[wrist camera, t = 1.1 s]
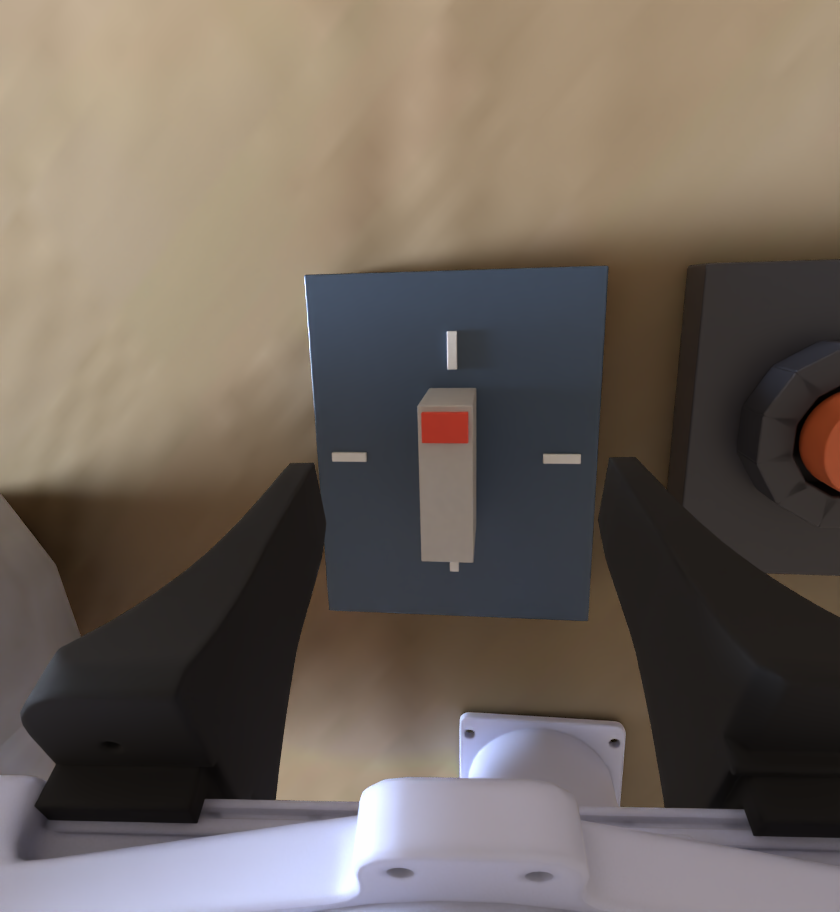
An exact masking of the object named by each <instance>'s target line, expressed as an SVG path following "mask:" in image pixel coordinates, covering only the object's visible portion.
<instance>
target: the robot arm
mask: <svg viewBox="0 0 840 912" xmlns="http://www.w3.org/2000/svg"><path fill="white" fill-rule="evenodd" d="M598 522H599V527H600V533H601V539H602V544H603V549H604V554H605V558H606V561H607V565H608V568H609V571H610V574H611V577H612V580H613V583H614V586H615V589H616V592H617V595H618V598H619V601H620V604H621V607H622V610H623V613H624V616H625V619H626V622H627V625H628V628H629V631H630V634H631V637H632V641H633V644H634V648H635V652H636V656H637V660H638V665H639V670H640V674H641V679H642V684H643V688H644V693H645V698H646V703H647V708H648V714H649V719H650V724H651V729H652V734H653V740H654V746H655V752H656V757H657V763H658V769H659V774H660V781H661V787H662V794H663V800H664V807H665V808H646V807H620V800H621V787H622V775H623V763H624V751H625V739H626V733H625V729H624V726H623V725H622V724H621V723H619V722H616V721H605V720H589V719H573V718H557V717H541V716H524V715H508V714H492V713H476V712H466V713H464V714H462V716H461V717H460V778H444V777H402V778H393V779H384V780H382V781H380V782H378V783H376V784H374V785H372V786H370V787H368V788H367V789H366V790H364V791H363V793H362V796H361V799H360V802H342V801H291V800H276V792H277V783H278V774H279V765H280V758H281V750H282V742H283V735H284V727H285V720H286V714H287V707H288V700H289V694H290V687H291V681H292V675H293V669H294V663H295V657H296V652H297V647H298V643H299V639H300V634H301V631H302V627H303V624H304V620H305V617H306V613H307V609H308V606H309V602H310V599H311V595H312V592H313V588H314V585H315V581H316V577H317V574H318V570H319V566H320V562H321V559H322V552H323V546H324V539H325V531H326V518H325V513H324V508H323V503H322V499H321V494H320V489H319V484H318V479H317V475H316V470H315V465H314V463H290V464H289V465H288V466H287V467H286V468H285V469H284V470H283V472H282V473H281V474H280V475H279V476H278V477H277V479H276V480H275V481H274V482H273V483H272V485H271V486H270V487H269V488H268V489H267V490H266V492H265V493H264V494H263V495H262V496H261V497H260V499H259V500H258V501H257V502H256V503H255V504H254V505H253V506H252V508H251V509H250V510H249V511H248V512H247V513H246V514H245V515H244V516H243V518H242V519H241V520H240V521H239V522H238V523H237V524H236V525H235V526H234V527H233V528H232V529H231V530H230V531H229V532H228V533H227V534H226V535H225V536H224V537H223V538H222V539H221V540H220V541H219V542H218V543H217V544H216V545H215V546H214V547H213V548H211V549H210V550H209V551H208V552H207V553H206V554H205V555H204V556H203V557H201V558H200V559H199V560H198V561H197V562H195V563H194V564H193V565H192V566H191V567H189V568H188V569H187V570H186V571H184V572H183V573H182V574H180V575H179V576H178V577H176V578H175V579H173V580H172V581H171V582H169V583H168V584H167V585H165V586H164V587H162V588H161V589H160V590H158V591H157V592H156V593H154V594H153V595H151V596H150V597H148V598H147V599H145V600H144V601H142V602H141V603H139V604H138V605H136V606H135V607H133V608H131V609H130V610H128V611H126V612H125V613H123V614H121V615H120V616H118V617H117V618H115V619H113V620H111V621H110V622H108V623H106V624H104V625H103V626H101V627H99V628H97V629H95V630H93V631H91V632H89V633H88V634H86V635H84V636H82V637H80V638H78V639H76V640H74V641H72V642H71V643H69V644H67V645H65V646H63V647H61V648H59V649H58V650H57V652H56V653H55V655H54V656H53V658H52V659H51V661H50V662H49V664H48V665H47V667H46V668H45V670H44V672H43V673H42V675H41V677H40V678H39V680H38V682H37V684H36V685H35V687H34V689H33V690H32V692H31V694H30V695H29V697H28V699H27V700H26V702H25V704H24V705H23V707H22V709H21V711H20V716H21V722H22V724H23V726H24V728H25V729H26V731H27V732H28V734H29V735H30V736H31V737H32V738H33V740H34V741H35V742H36V743H37V744H38V745H39V746H40V747H41V748H42V749H43V751H44V752H45V753H46V754H47V755H48V756H49V757H50V758H51V759H52V760H53V762H54V763H55V764H56V765H55V767H54V769H53V771H52V773H51V775H50V777H49V779H48V781H47V782H46V781H45V780H43V779H40V778H37V777H33V776H24V775H0V912H840V617H838V616H836V615H834V614H832V613H830V612H828V611H827V610H825V609H823V608H821V607H819V606H817V605H816V604H814V603H812V602H811V601H809V600H807V599H805V598H804V597H802V596H800V595H799V594H797V593H795V592H794V591H792V590H791V589H789V588H787V587H786V586H784V585H783V584H781V583H779V582H778V581H776V580H775V579H773V578H772V577H770V576H769V575H767V574H766V573H764V572H763V571H761V570H760V569H758V568H757V567H756V566H754V565H753V564H752V563H750V562H749V561H747V560H746V559H745V558H743V557H742V556H741V555H739V554H738V553H737V552H735V551H734V550H733V549H731V548H730V547H729V546H728V545H726V544H725V543H724V542H723V541H721V540H720V539H719V538H718V537H717V536H715V535H714V534H713V533H712V532H711V531H710V530H708V529H707V528H706V527H705V526H704V525H703V524H702V523H700V522H699V521H698V520H697V519H696V518H695V517H694V516H693V515H692V514H691V513H690V512H689V511H688V510H687V509H686V508H685V507H683V506H682V505H681V504H680V503H679V502H678V501H677V500H676V499H675V498H674V497H673V496H672V495H671V494H670V493H669V492H668V491H667V490H666V489H665V487H664V486H663V485H662V484H661V483H660V482H659V481H658V480H657V479H656V478H655V477H654V476H653V475H652V474H651V473H650V472H649V471H648V470H647V469H646V468H645V467H644V466H643V465H642V463H641V462H640V461H639V460H638V459H637V458H636V457H611V458H609V462H608V468H607V473H606V479H605V484H604V490H603V495H602V501H601V507H600V512H599V518H598ZM469 729H470V730H473V731H474V732H471V733H469V732H467V731H466V730H469ZM612 739H617V741H616V742H611V741H610V740H612Z"/></svg>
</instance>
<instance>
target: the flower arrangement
mask: <svg viewBox="0 0 840 912" xmlns="http://www.w3.org/2000/svg"><path fill="white" fill-rule="evenodd" d="M80 637H81V635H80V633H79V630H78V627H77V624H76V621H75V618H74V615H73V612H72V610H71V607H70V604H69V601H68V598H67V595H66V592H65V589H64V587H63V584H62V581H61V578H60V575H59V572H58V569H57V566H56V564H55V563H54V562H53V560H52V559H51V558H50V556H49V555H48V554H47V552H46V551H45V550H44V549H43V547H42V546H41V545H40V543H39V542H38V541H37V540H36V538H35V537H34V536H33V534H32V533H31V532H30V531H29V529H28V528H27V527H26V525H25V524H24V523H23V522H22V520H21V519H20V518H19V516H18V515H17V514H16V512H15V511H14V510H13V509H12V507H11V506H10V505H9V503H8V502H7V501H6V500H5V498H4V497H3V496H2V495H1V493H0V775H24V776H33V777H37V778H40V779H43V780H45V781H46V782H47V781H48V779H49V777H50V775H51V773H52V771H53V769H54V767H55V765H56V764H55V763H54V762H53V760H52V759H51V758H50V757H49V756H48V755H47V754H46V753H45V752H44V751H43V749H42V748H41V747H40V746H39V745H38V744H37V743H36V742H35V741H34V740H33V738H32V737H31V736H30V735H29V734H28V732H27V731H26V729H25V728H24V726H23V724H22V722H21V716H20V711H21V709H22V707H23V705H24V704H25V702H26V700H27V699H28V697H29V695H30V694H31V692H32V690H33V689H34V687H35V685H36V684H37V682H38V680H39V678H40V677H41V675H42V673H43V672H44V670H45V668H46V667H47V665H48V664H49V662H50V661H51V659H52V658H53V656H54V655H55V653H56V652H57V650H58V649H59V648H61V647H63V646H65V645H67V644H69V643H71V642H72V641H74V640H76V639H78V638H80Z"/></svg>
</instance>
